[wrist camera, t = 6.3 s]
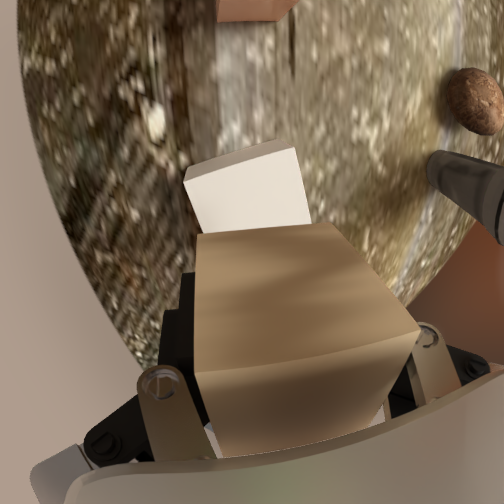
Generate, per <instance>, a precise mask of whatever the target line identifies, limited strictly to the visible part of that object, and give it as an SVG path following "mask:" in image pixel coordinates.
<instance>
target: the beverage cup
mask: <svg viewBox="0 0 504 504" xmlns="http://www.w3.org/2000/svg"><path fill="white" fill-rule="evenodd" d="M427 178H428V180H429V182H430V184H431V185H432V186H434V187H435V188H436V189H438V190H439V191H440V192H441V193H442V194H444V195H445V196H447V197H448V198H449V199H451V200H452V201H453V202H455V203H456V204H457V205H459V206H460V207H461V208H462V209H464V210H465V211H466V212H468V213H469V214H470V215H471V216H473V217H474V218H475V219H476V220H478V221H479V222H480V223H481V224H482V225H484V226H485V228H486V229H487V230H488V232H489V233H490V234H491V235H492V236H493V237H494V238H495V239H496V240H497V242H498V243H499V244H500V245H502V246H504V167H503V166H500V165H497V164H494V163H491V162H487V161H484V160H481V159H477V158H474V157H470V156H467V155H463V154H459V153H455V152H448V151H444V150H439V151H436V152H435V153H434V154H432V156H431V157H430V159H429V162H428V165H427Z"/></svg>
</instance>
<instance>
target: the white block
mask: <svg viewBox="0 0 504 504" xmlns="http://www.w3.org/2000/svg"><path fill="white" fill-rule="evenodd" d="M183 183H184V186H185V188H186V191H187V193H188V196H189V199H190V201H191V204H192V206H193V209H194V211H195V214H196V216H197V219H198V221H199V224H200V226H201V229H202V231H203V233H213V232H223V231H234V230H244V229H255V228H266V227H278V226H290V225H302V224H312V223H311V219H310V214H309V209H308V204H307V200H306V195H305V190H304V186H303V181H302V177H301V173H300V169H299V164H298V160H297V156H296V152H295V148H294V147H293V146H292V145H290V144H288V143H286V142H284V141H282V140H280V139H275V140H271V141H268V142H264V143H261V144H257V145H254V146H250V147H247V148H244V149H240V150H237V151H234V152H231V153H228V154H225V155H222V156H219V157H216V158H213V159H210V160H207V161H204V162H201V163H198V164H195V165H193V166H190V167H188V168H187V171H186V174H185V178H184V181H183Z"/></svg>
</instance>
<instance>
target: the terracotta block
mask: <svg viewBox="0 0 504 504" xmlns="http://www.w3.org/2000/svg"><path fill="white" fill-rule="evenodd" d="M298 1H299V0H216V13H217V22H232V21H279V20H280V19H281V18H282V17H283V16H284V15H285V14H286V13H287V12H288V11H289V10H290V9H291V8H292V7H293V6H294V5H295V4H296V3H297V2H298Z"/></svg>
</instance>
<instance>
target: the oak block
mask: <svg viewBox="0 0 504 504" xmlns="http://www.w3.org/2000/svg"><path fill="white" fill-rule="evenodd" d="M420 331H421V328H420V327H419V326H418V324H417V323H416V322H415V321H414V319H413V318H412V317H411V315H410V314H409V313H408V311H407V310H406V309H405V308H404V306H403V305H402V304H401V303H400V301H399V300H398V299H397V298H396V296H395V295H394V294H393V293H392V292H391V290H390V289H389V288H388V287H387V286H386V284H385V283H384V282H383V281H382V280H381V278H380V277H379V276H378V275H377V274H376V273H375V271H374V270H373V269H372V268H371V267H370V266H369V264H368V263H367V262H366V261H365V260H364V259H363V258H362V256H361V255H360V254H359V253H358V252H357V251H356V250H355V248H354V247H353V246H352V245H351V244H350V243H349V242H348V241H347V240H346V239H345V237H344V236H343V235H342V234H341V233H340V232H339V231H338V230H337V229H336V228H335V227H334V226H333V224H332V223H331V222H327V223H314V224H302V225H290V226H278V227H266V228H255V229H244V230H234V231H223V232H213V233H203V234H197V248H196V271H195V304H194V374H195V377H196V380H197V383H198V386H199V390H200V393H201V396H202V399H203V402H204V405H205V408H206V411H207V414H208V417H209V419H210V422H211V425H212V428H213V431H214V433H215V436H216V439H217V441H218V444H219V447H220V449H221V452H222V455H223V457H230V456H239V455H249V454H257V453H264V452H270V451H276V450H282V449H287V448H292V447H297V446H302V445H306V444H311V443H315V442H319V441H323V440H327V439H331V438H334V437H338V436H341V435H345V434H348V433H352V432H355V431H358V430H361V429H364V428H367V427H368V426H369V424H370V423H371V421H372V420H373V418H374V417H375V415H376V414H377V412H378V410H379V409H380V407H381V406H382V404H383V402H384V401H385V399H386V397H387V396H388V394H389V392H390V390H391V389H392V387H393V385H394V383H395V382H396V380H397V378H398V376H399V374H400V372H401V371H402V369H403V367H404V365H405V363H406V361H407V359H408V357H409V355H410V353H411V351H412V349H413V347H414V345H415V342H416V340H417V338H418V336H419V334H420Z"/></svg>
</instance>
